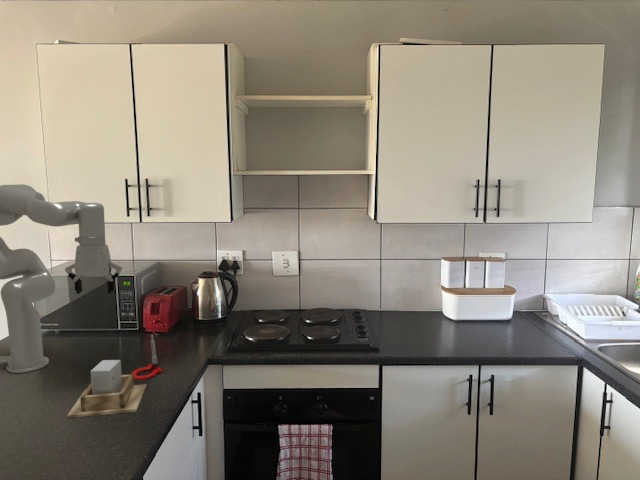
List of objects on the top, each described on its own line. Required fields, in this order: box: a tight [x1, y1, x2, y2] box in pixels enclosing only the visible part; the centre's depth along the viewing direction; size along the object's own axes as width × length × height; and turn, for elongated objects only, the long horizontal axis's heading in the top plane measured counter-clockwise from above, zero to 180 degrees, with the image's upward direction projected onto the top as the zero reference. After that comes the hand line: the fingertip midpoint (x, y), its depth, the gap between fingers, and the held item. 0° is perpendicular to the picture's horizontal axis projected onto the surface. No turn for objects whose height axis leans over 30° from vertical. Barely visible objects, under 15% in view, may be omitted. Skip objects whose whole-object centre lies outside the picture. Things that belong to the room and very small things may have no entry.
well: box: [66, 373, 147, 419], centre depth 136 cm, size 18×16×5 cm
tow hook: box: [130, 334, 164, 381], centre depth 154 cm, size 8×13×9 cm
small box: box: [90, 359, 123, 395], centre depth 136 cm, size 8×6×10 cm
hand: (95, 292), depth 152 cm, fingers open, 9 cm apart
